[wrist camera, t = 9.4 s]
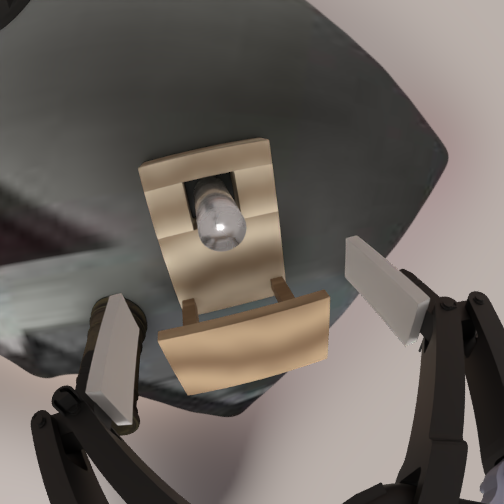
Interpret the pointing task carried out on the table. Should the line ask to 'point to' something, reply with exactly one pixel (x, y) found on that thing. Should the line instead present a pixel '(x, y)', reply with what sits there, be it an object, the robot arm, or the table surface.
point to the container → (140, 319)
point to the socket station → (230, 275)
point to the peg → (217, 215)
